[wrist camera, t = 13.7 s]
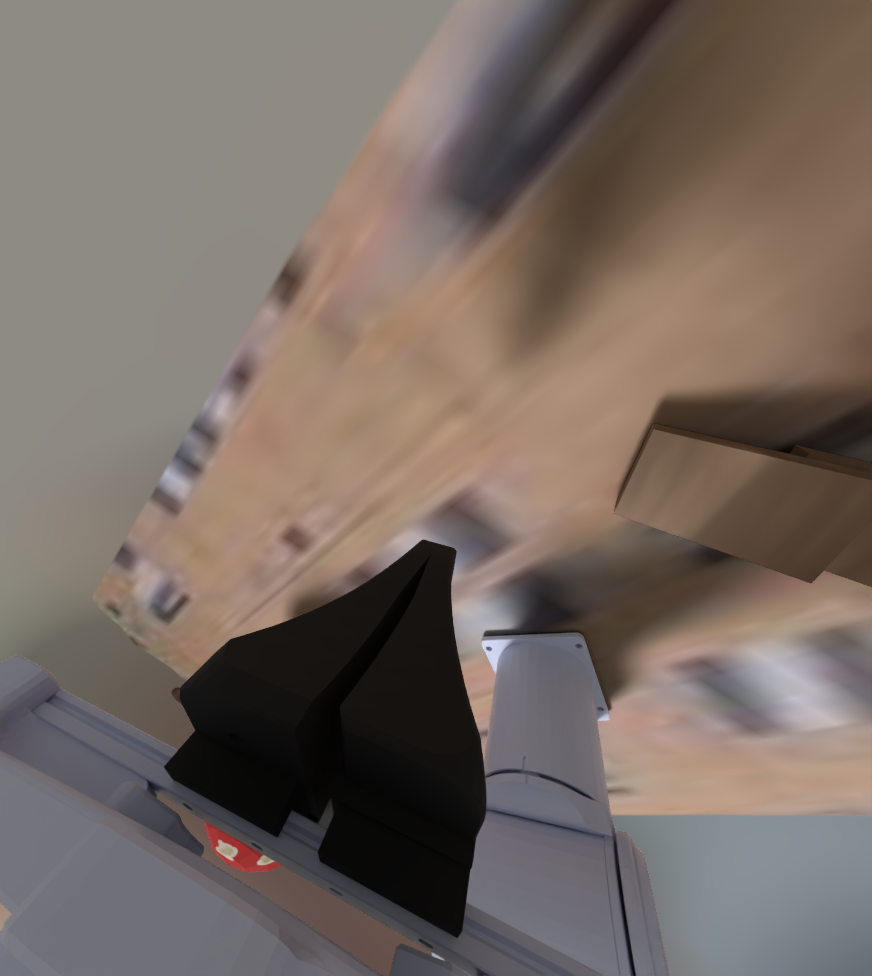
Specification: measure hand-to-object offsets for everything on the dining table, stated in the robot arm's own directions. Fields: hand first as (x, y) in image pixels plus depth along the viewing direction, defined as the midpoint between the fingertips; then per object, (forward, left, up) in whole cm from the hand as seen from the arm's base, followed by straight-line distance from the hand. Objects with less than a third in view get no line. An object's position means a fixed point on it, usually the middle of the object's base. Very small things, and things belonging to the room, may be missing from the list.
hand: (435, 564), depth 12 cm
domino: (-2, -8, -9) cm, 12 cm away
